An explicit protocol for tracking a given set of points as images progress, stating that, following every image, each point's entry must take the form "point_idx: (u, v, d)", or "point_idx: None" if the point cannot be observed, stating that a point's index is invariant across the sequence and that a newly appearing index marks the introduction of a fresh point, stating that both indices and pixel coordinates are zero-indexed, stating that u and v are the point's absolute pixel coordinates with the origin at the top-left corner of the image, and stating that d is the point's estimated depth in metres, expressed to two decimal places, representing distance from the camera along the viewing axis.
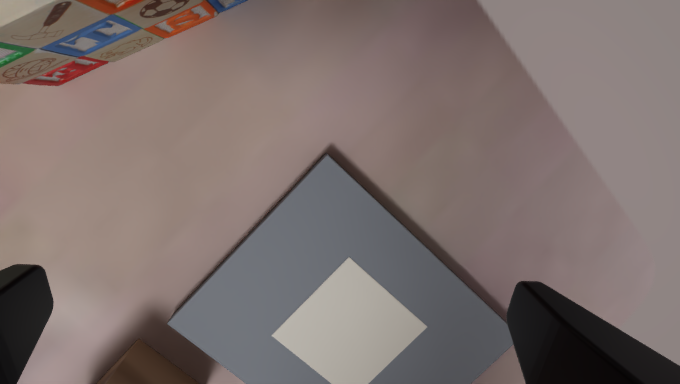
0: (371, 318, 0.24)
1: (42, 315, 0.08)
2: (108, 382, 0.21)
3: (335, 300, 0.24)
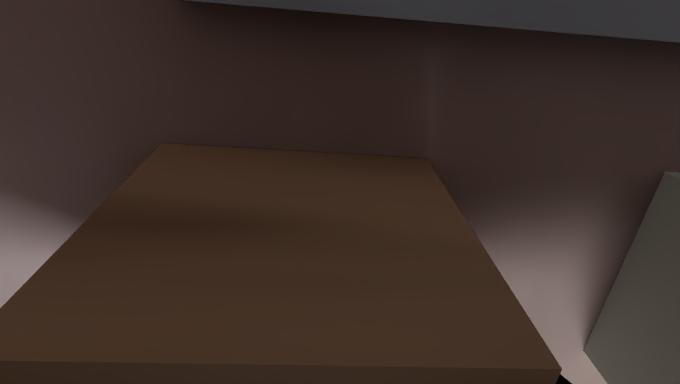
0: None
1: None
2: (37, 278, 0.04)
3: None
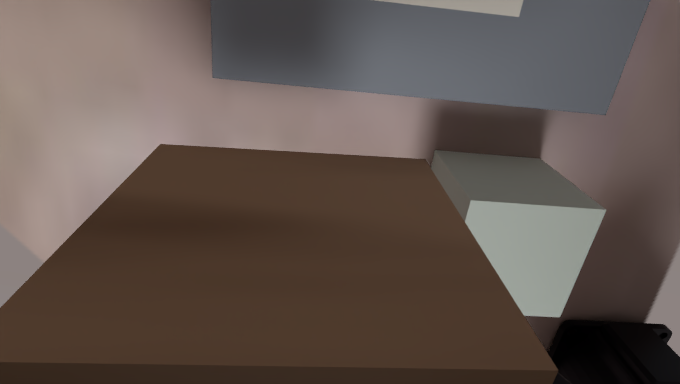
0: None
1: None
2: (36, 279, 0.04)
3: None
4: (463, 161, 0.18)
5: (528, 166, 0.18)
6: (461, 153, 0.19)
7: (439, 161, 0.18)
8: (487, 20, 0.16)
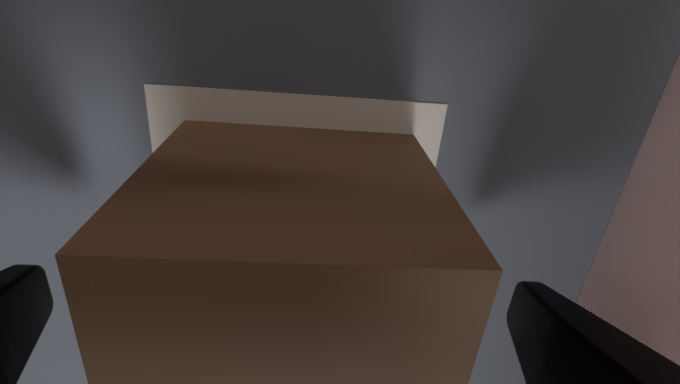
0: None
1: (42, 315, 0.08)
2: (104, 209, 0.05)
3: None
4: None
5: None
6: None
7: None
8: None
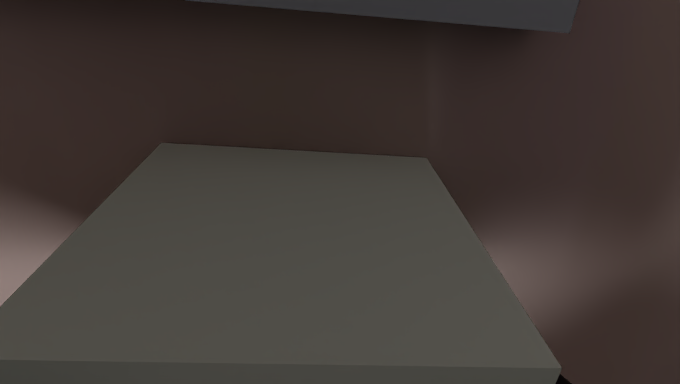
0: None
1: None
2: None
3: None
4: (196, 172, 0.07)
5: (377, 181, 0.07)
6: (223, 151, 0.08)
7: (140, 174, 0.07)
8: None
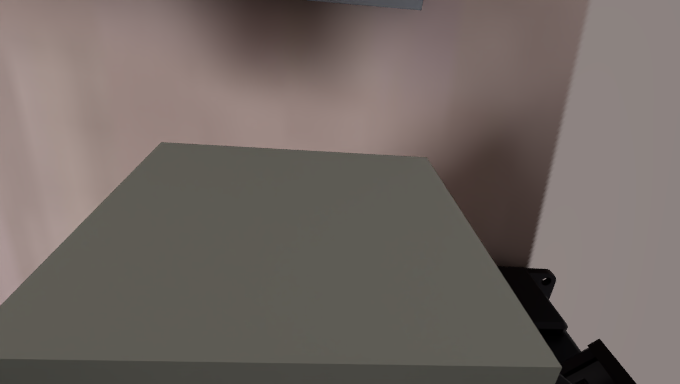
0: None
1: None
2: None
3: None
4: (196, 172, 0.07)
5: (377, 180, 0.07)
6: (223, 150, 0.08)
7: (140, 174, 0.07)
8: None
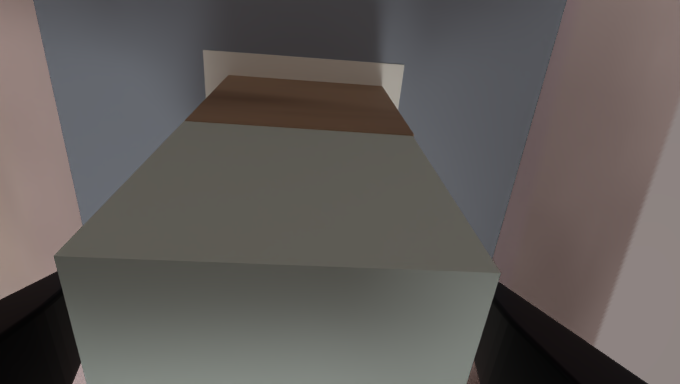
0: None
1: None
2: (200, 107, 0.10)
3: None
4: (217, 143, 0.08)
5: (369, 152, 0.08)
6: (237, 128, 0.09)
7: None
8: None
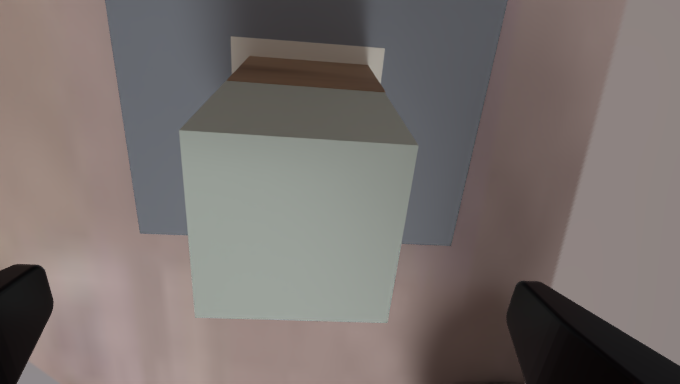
0: None
1: (42, 315, 0.08)
2: (234, 74, 0.14)
3: None
4: (251, 92, 0.12)
5: (352, 99, 0.12)
6: (263, 85, 0.13)
7: (218, 93, 0.12)
8: None
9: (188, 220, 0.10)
